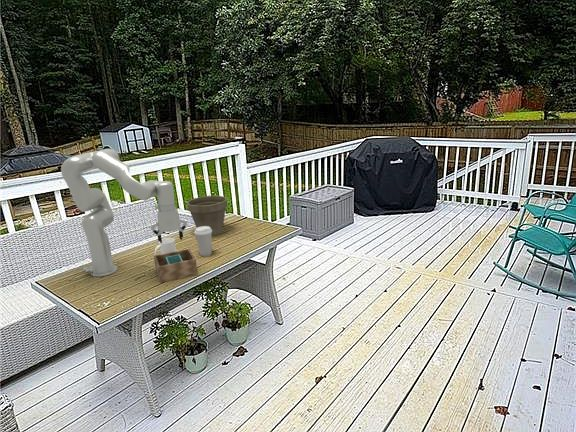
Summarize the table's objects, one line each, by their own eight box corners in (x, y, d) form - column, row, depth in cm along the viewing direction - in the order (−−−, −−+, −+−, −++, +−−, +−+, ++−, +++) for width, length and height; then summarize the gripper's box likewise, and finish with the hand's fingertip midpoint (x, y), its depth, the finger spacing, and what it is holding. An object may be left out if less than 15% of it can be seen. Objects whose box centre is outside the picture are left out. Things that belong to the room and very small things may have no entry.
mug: (159, 264, 209) (156, 246, 206) (152, 260, 214) (149, 242, 211) (179, 257, 217) (177, 240, 214) (172, 253, 222) (169, 236, 219)
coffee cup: (197, 258, 215) (194, 232, 210) (196, 251, 224) (193, 226, 219) (215, 255, 217) (212, 230, 212) (213, 249, 226) (211, 224, 221)
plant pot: (189, 229, 262) (185, 197, 255) (226, 224, 269) (223, 193, 262) (192, 241, 239) (188, 207, 232) (232, 236, 246) (229, 202, 239)
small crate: (170, 276, 192) (168, 264, 191) (166, 267, 202) (165, 257, 200) (184, 273, 195) (183, 261, 193) (180, 264, 205) (179, 254, 203)
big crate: (160, 282, 188) (157, 267, 186) (155, 270, 202) (153, 255, 200) (197, 274, 196) (195, 259, 193) (190, 262, 209) (189, 248, 207)
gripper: (149, 211, 182) (153, 246, 187) (186, 206, 189) (190, 240, 194) (147, 207, 188) (151, 241, 194) (183, 202, 195) (187, 235, 201)
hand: (170, 240), depth 194 cm, fingers open, 9 cm apart
